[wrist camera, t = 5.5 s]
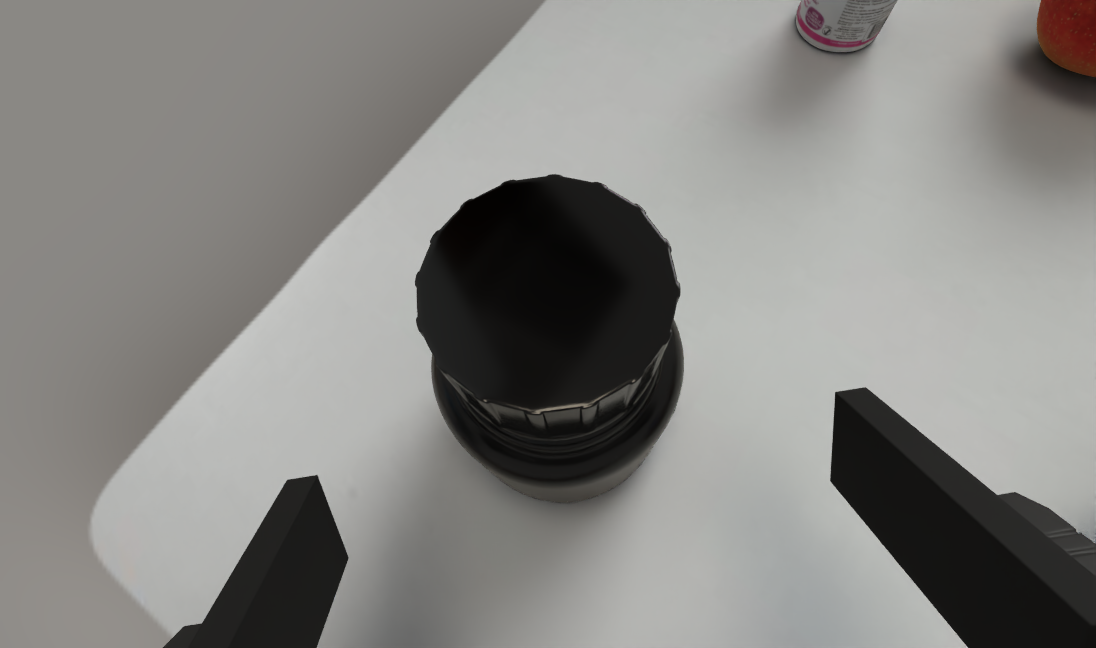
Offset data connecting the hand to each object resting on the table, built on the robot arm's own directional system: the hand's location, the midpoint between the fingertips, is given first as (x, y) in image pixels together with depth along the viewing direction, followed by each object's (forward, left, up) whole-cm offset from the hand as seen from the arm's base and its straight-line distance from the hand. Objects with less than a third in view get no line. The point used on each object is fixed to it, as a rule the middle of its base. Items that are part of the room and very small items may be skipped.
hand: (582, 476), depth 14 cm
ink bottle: (+1, +5, -10) cm, 11 cm away
